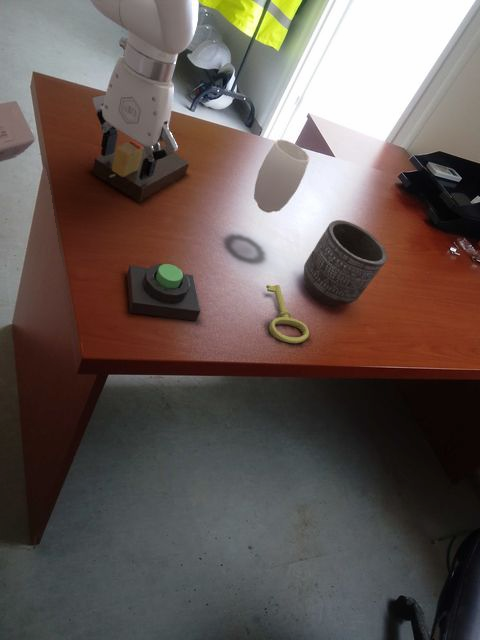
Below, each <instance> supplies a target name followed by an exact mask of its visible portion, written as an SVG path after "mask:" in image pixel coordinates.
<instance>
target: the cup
mask: <svg viewBox="0 0 480 640" xmlns="http://www.w3.org/2000/svg"><path fill="white" fill-rule="evenodd" d="M309 162H310V157H309V154H308V153H307V151H305V150H304V149H303V148H302V147H301V146H299V145H297V144H295V143H294V142H292V141H289V140H286V139H277V140H276V141H275V142H274V144H273V145H272V146H271V148H270V149H269V150H268V152H267V154H266V156H265V158H264V159H263V162H262V164H261V166H260V168H259V170H258V172H257V177H256V180H255V184H254V190H253V191H254V192H253V199H254V200H255V202H256V204H257V207H258V209H259V210H261V211H263V213H267V214H269V213H273V212H275V213H276V212H280V211H281V210H282V209H283V208H284V207H285V206H286V205H287V204H288V203H289V201H290V200H291V199H292V197H293V196H294V194H296V192H297V191H298V189H299V187H300V184H301V183H302V180H303V178H304V176H305V174H306V171H307V167H308V165H309Z"/></svg>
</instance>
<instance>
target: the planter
mask: <svg viewBox="0 0 480 640" xmlns="http://www.w3.org/2000/svg"><path fill="white" fill-rule="evenodd" d="M387 260H388V254H387V251H386V249H385V247H384V245H383V244H382V243H381V242H380V241H379V240H378V239H377V237H375V236H374V235H373V233H370V232H369V231H367V230H366V229H364V228H363V227H362V226H359V225H357V224H355V223H353V222H350V221H347V220H342V219H337V220H336V219H335V220H333V221H331V222H330V223H329V224H328V226H327V227H326V229H325V231H324V232H323V234H322V235H321V237H320V238H319V239H318V242H317V243H316V245H315V247H314V249H313V250H312V251H311V253H310V254H309V256H308V258H307V259H306V261H305V263H304V266H303V281H304V289H305V291H306V293H307V294H308V296H309V297H310V298H311V299H312V300H313V301H315V302H316V303H317V304H319V305H321V306H323V307H326V308H328V309H329V308H330V309H335V308H340V307H343V306H346V305H349V304H351V303H354V302H355V301H357V300H358V299H359V298H360V297H361V295H362V294H363V293H364V292H365V290H366V289H367V287H368V286H369V285H370V283H371V282H372V281H373V280H374V278H375V277H376V275H377V274H378V273H379V271H381V269H382V268H383V266H384V265H385V264H386V262H387Z"/></svg>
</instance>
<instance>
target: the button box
mask: <svg viewBox="0 0 480 640" xmlns="http://www.w3.org/2000/svg"><path fill="white" fill-rule="evenodd" d="M161 265H163V263H156V264H153V265H150V266H149V267H145V266H140V265H134V264H129V266H128V270H127V273H126V281H127V295H128V309H129V313H130V314H137V315H145V316H153V317H162V318H170V319H177V320H186V321H193V322H196V321H197V320H198V318H199V316H200V313H201V307H200V302H199V297H198V293H197V288H196V283H195V277H194V275H192V274H188V273H184V272H183V271H182V270H181V272H182V274H183V277H182V280H181V282H180V285H179V287H178V288H176V289H168V288H165V287H163V286H161V285H159V284H158V283H157V281H156V274H157V272H158V269H159V267H160V266H161Z"/></svg>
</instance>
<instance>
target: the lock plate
mask: <svg viewBox="0 0 480 640" xmlns="http://www.w3.org/2000/svg"><path fill="white" fill-rule="evenodd" d="M136 142H137V141H136ZM137 143H138V142H137ZM139 144H140V143H139ZM159 144H160V143H159ZM140 145H142V144H140ZM142 146H143V148H144V149H143V153H142V157H141V161H140V165H139V169H138V170H137V171H135V172H133V173H131V174H129V175H126V176H124V177H122V176H120V175H118V174H117V173H115V172H114V171H112V166H113V161H114V156H115V151H116V149H115V151H114V153H112V154H109V155H107V156H103V155H101V156H98V157H95V158H94V164H93V169H92V175H95V176H96V177H97V178H99V179H101V180H103V181H104V182H106V183H107V184H110V185H111V186H113V187H114V188H115V189H117V190H119V191H120V192H122V193H123V194H125V195H126V196H127V197H130V198H131V199H133V200H134V201H136V202H137V203H140V202H141V201H143V200H145V199H147V198H149V197H150V196H152V195H154V194H155V193H157V192H158V191H161V190H162V189H164V188H166V187H168V186H169V185H171V184H172V183H174V182H176V181H179V179H181V178H183V177H185V176H186V174H187V171H188V168H189V165H190V161H188V160H186V159H185V158H183V157H181V156H180V155H178V154H176V152H174V153H172V154H170V155H168V156H166V157H164V158H161V159H158V160H157V163H156V167H155V170H154V174H153V175H152V176H151V177H148V178H146V179H144V180H141V179H140V178H139V175H140V171H141V167H142V163H143V160H144V159H145V158H147V154H146V149H145V146H144V145H142ZM165 147H166V146H164V145H163V144H160V150H162V149H164V148H165Z"/></svg>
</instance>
